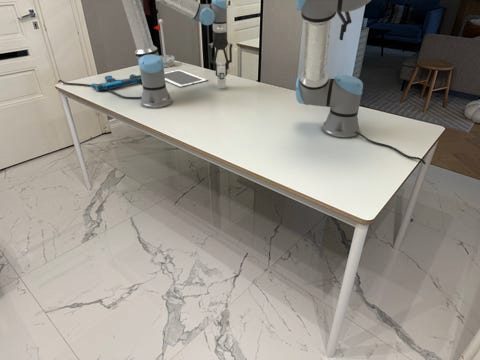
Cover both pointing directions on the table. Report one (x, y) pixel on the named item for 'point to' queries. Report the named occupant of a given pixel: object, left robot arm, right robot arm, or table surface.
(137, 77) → the submachine gun
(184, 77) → the tablet
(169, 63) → the flag stand
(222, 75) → the ink box
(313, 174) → the table surface
